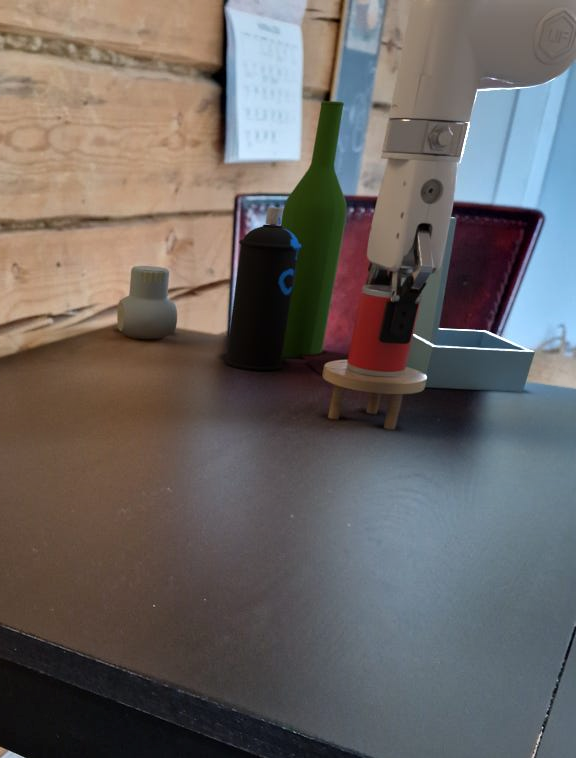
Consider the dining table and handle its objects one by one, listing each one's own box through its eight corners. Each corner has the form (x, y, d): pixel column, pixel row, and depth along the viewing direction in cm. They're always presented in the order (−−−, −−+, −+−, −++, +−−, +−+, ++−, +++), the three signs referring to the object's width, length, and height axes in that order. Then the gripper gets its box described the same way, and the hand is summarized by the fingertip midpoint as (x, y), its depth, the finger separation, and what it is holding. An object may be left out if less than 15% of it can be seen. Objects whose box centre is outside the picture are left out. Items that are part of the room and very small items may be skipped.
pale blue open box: (475, 371, 126) (486, 330, 123) (521, 397, 113) (535, 351, 110) (385, 367, 125) (394, 325, 122) (421, 392, 113) (432, 346, 110)
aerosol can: (222, 368, 119) (243, 207, 109) (225, 356, 126) (244, 204, 116) (282, 373, 118) (308, 211, 108) (281, 361, 125) (305, 208, 115)
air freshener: (114, 328, 140) (118, 262, 135) (164, 330, 141) (170, 265, 136) (124, 342, 130) (129, 271, 125) (177, 344, 131) (184, 274, 126)
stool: (394, 413, 102) (406, 362, 99) (428, 441, 93) (443, 385, 90) (303, 409, 101) (313, 357, 98) (329, 436, 92) (340, 380, 89)
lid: (413, 209, 115) (375, 211, 115) (457, 217, 102) (414, 219, 102) (397, 322, 122) (362, 323, 122) (436, 342, 109) (397, 344, 109)
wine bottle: (330, 353, 132) (376, 105, 116) (306, 362, 125) (352, 100, 109) (278, 344, 136) (315, 103, 120) (252, 351, 130) (288, 98, 113)
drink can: (393, 365, 97) (410, 286, 93) (412, 378, 91) (432, 295, 87) (339, 363, 96) (354, 283, 92) (355, 375, 91) (372, 291, 87)
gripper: (500, 146, 76) (447, 355, 85) (428, 146, 91) (389, 323, 100) (418, 141, 75) (373, 351, 84) (359, 141, 90) (326, 320, 99)
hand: (382, 334), depth 92 cm, fingers open, 6 cm apart
